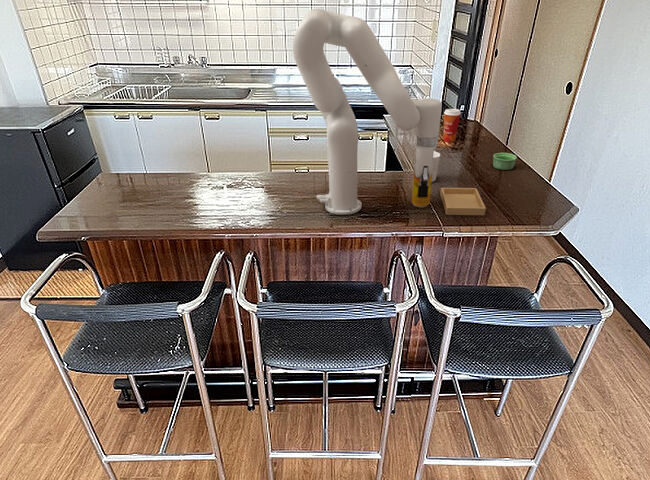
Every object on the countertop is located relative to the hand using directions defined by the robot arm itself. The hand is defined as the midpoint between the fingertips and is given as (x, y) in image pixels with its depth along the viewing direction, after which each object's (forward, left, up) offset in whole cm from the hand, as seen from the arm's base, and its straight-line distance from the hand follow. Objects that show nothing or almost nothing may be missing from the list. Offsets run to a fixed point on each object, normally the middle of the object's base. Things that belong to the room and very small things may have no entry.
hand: (421, 191), depth 149 cm
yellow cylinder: (0, 0, -5) cm, 5 cm away
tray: (+14, 0, -5) cm, 15 cm away
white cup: (+4, +23, -5) cm, 24 cm away
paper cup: (+19, +72, -5) cm, 75 cm away
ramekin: (+36, +37, -5) cm, 52 cm away
